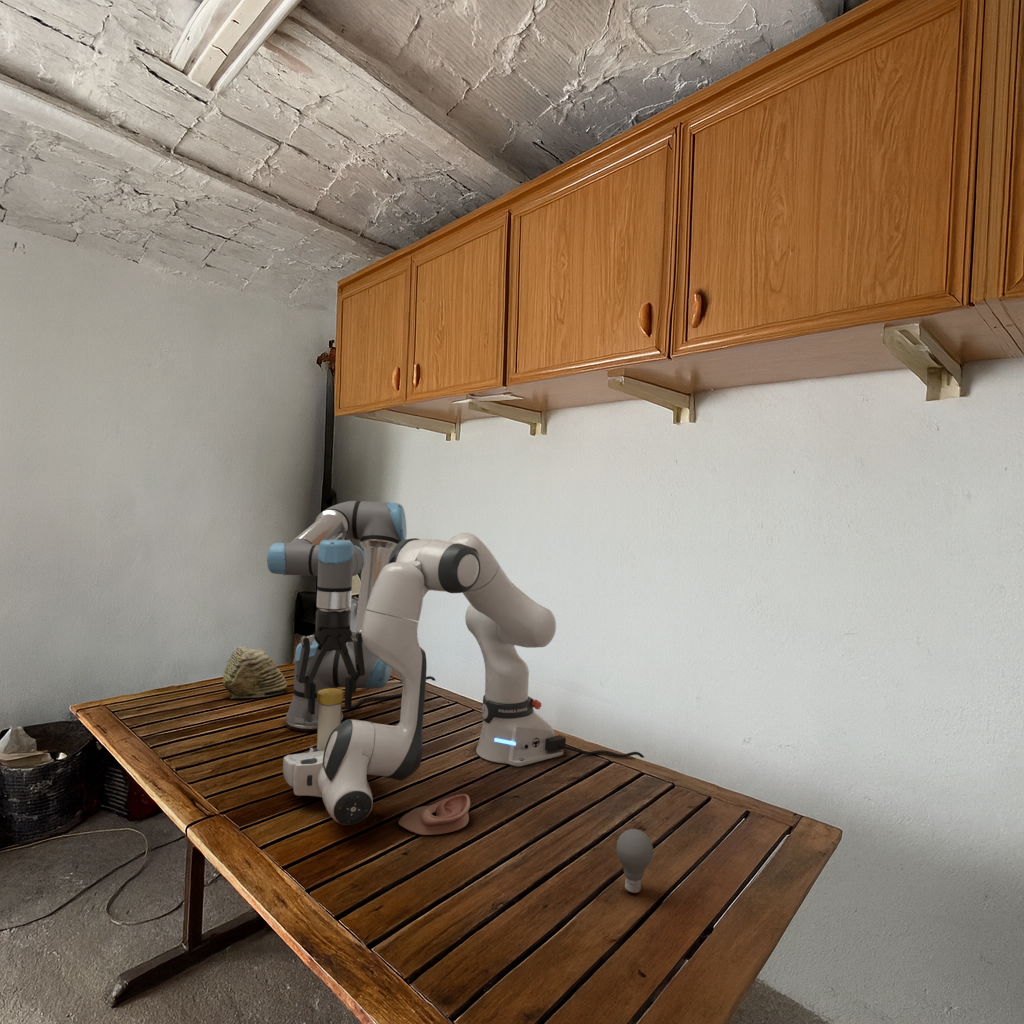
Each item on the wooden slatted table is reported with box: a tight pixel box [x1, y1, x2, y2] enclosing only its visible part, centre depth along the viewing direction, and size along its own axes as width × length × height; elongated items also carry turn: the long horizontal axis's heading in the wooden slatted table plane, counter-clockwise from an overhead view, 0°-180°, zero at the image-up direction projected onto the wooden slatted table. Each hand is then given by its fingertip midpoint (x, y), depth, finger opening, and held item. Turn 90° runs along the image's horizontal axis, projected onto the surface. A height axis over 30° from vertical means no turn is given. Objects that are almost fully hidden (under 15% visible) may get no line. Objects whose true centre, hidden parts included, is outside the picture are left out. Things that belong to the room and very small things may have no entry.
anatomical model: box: [397, 793, 471, 836], centre depth 125 cm, size 13×4×12 cm
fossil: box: [222, 646, 288, 699], centre depth 198 cm, size 9×18×15 cm, turn 132°
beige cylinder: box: [316, 701, 343, 751], centre depth 143 cm, size 5×5×19 cm
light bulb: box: [615, 828, 654, 894], centre depth 106 cm, size 6×6×10 cm
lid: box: [317, 687, 345, 705], centre depth 142 cm, size 6×6×2 cm
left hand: (329, 709), depth 143 cm, fingers open, 8 cm apart
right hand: (327, 749), depth 143 cm, fingers closed on beige cylinder, 5 cm apart
